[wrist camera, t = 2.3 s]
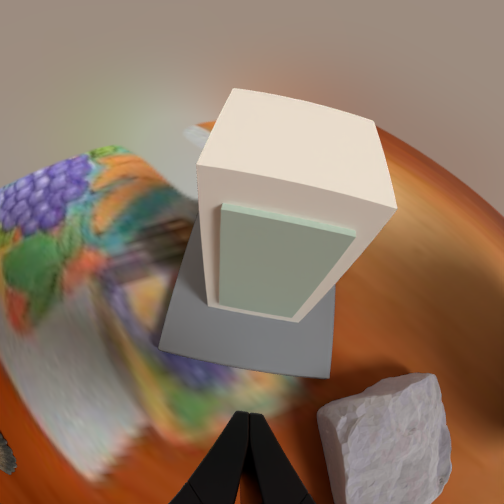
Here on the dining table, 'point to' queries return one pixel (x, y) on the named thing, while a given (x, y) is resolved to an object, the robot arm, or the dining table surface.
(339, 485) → the stone block
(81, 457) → the dining table surface
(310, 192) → the tall block
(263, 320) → the mat
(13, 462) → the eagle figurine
